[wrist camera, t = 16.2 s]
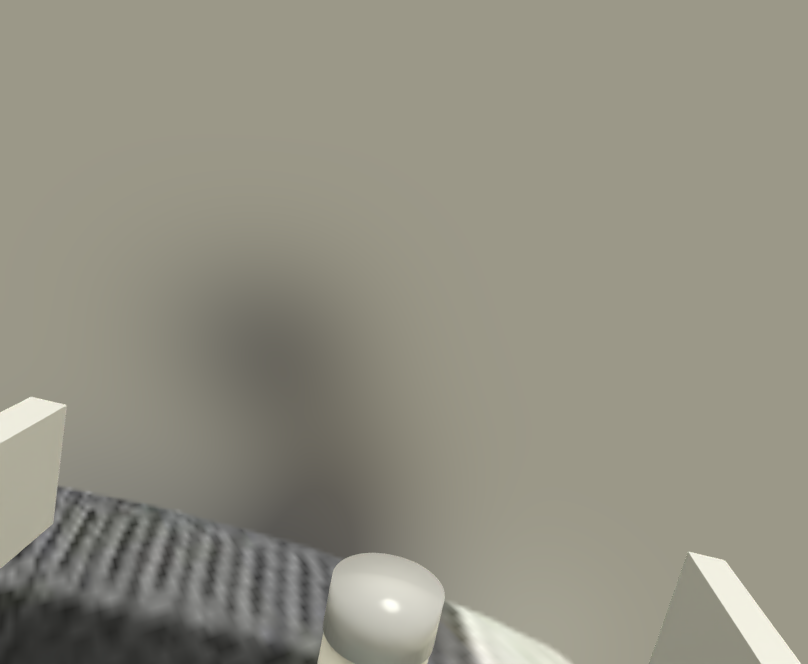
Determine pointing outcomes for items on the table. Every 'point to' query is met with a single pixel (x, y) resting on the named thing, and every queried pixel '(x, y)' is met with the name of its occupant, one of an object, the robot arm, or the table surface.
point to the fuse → (380, 612)
